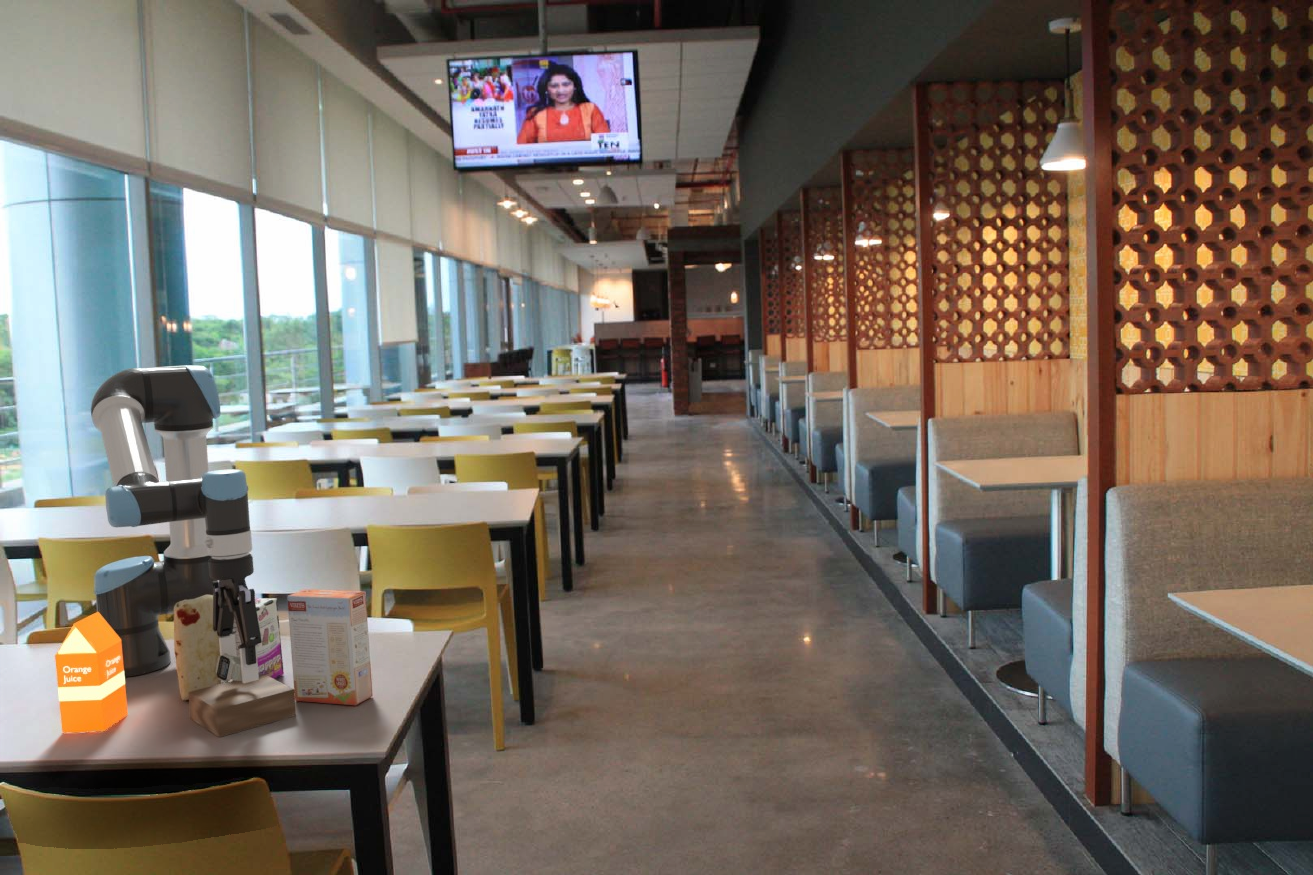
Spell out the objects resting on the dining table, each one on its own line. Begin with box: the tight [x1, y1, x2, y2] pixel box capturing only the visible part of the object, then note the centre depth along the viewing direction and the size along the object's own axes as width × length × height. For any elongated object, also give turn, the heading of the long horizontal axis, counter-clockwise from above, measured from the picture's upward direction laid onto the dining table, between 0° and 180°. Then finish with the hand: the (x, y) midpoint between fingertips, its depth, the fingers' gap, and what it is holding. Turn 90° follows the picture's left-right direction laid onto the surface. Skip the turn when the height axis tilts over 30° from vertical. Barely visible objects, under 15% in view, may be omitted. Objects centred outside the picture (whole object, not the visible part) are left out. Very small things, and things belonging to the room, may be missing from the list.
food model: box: [173, 595, 222, 701], centre depth 206 cm, size 10×7×20 cm
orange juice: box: [54, 611, 129, 733], centre depth 193 cm, size 8×9×20 cm
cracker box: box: [286, 588, 373, 706], centre depth 201 cm, size 14×6×21 cm, turn 71°
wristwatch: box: [216, 653, 242, 683], centre depth 193 cm, size 9×6×5 cm
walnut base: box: [188, 673, 297, 738], centre depth 194 cm, size 14×14×5 cm
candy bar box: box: [230, 597, 285, 681], centre depth 212 cm, size 11×5×16 cm, turn 169°
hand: (239, 675), depth 193 cm, fingers closed on wristwatch, 9 cm apart
